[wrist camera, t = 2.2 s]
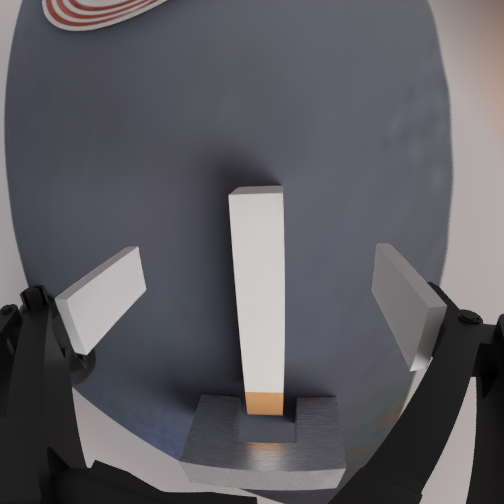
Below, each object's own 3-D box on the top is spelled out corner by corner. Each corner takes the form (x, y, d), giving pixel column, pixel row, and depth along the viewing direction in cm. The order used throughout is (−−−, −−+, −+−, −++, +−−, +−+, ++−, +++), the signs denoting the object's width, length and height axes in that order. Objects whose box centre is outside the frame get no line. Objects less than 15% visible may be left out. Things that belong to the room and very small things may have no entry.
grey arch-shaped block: (330, 422, 35) (336, 487, 24) (208, 419, 37) (190, 481, 26) (336, 396, 33) (345, 468, 22) (201, 393, 35) (179, 461, 25)
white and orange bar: (283, 385, 33) (282, 414, 29) (251, 384, 34) (247, 414, 29) (282, 185, 25) (282, 193, 21) (238, 187, 26) (228, 195, 21)
